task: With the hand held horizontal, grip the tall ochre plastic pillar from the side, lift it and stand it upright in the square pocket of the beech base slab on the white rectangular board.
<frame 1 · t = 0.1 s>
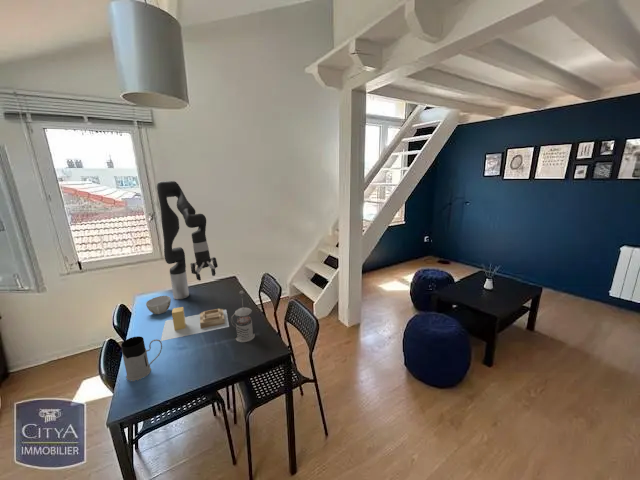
hand: (206, 277, 156), 22 cm above the table, tool pointing down, fingers open, 8 cm apart
teacup: (160, 313, 161), on the table
ochre pillar: (180, 326, 146), point 1 cm above the table, touching white rectangular board
white rectangular board: (196, 325, 149), on the table
beech base slab: (212, 320, 152), resting on white rectangular board
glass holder: (146, 371, 115), on the table
french press: (243, 336, 140), on the table
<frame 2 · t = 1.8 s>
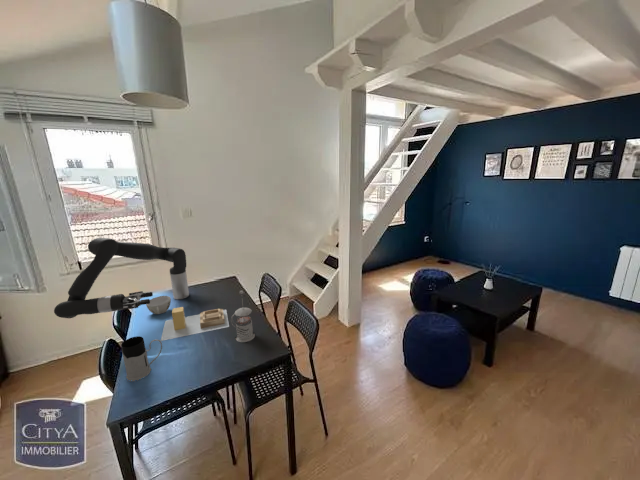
hand: (151, 297, 137), 20 cm above the table, tool horizontal, fingers open, 8 cm apart
nothing on the table moved.
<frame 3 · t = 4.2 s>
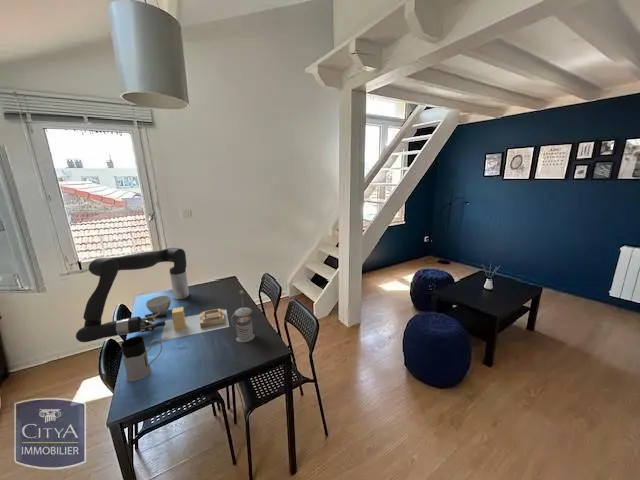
hand: (166, 319, 142), 7 cm above the table, tool horizontal, fingers open, 8 cm apart
nothing on the table moved.
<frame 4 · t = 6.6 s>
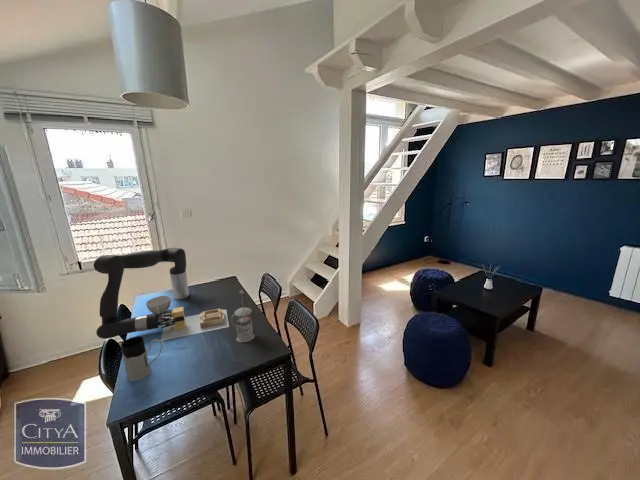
hand: (184, 315, 145), 7 cm above the table, tool horizontal, fingers closed on ochre pillar, 5 cm apart
ochre pillar: (180, 326, 146), point 1 cm above the table, touching white rectangular board, gripper
everything else where it was.
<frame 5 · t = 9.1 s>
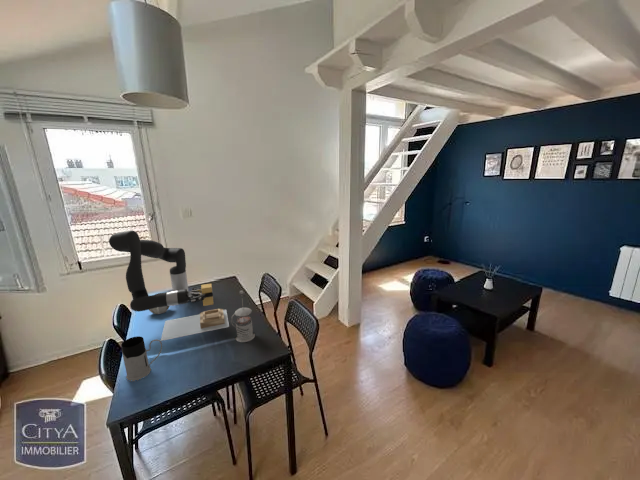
hand: (212, 292, 148), 18 cm above the table, tool horizontal, fingers closed on ochre pillar, 5 cm apart
ochre pillar: (208, 303, 149), point 12 cm above the table, touching gripper
everything else where it was.
when the fingers open (11 cm above the table, at t = 11.6 s): ochre pillar drops 1 cm, resting on beech base slab.
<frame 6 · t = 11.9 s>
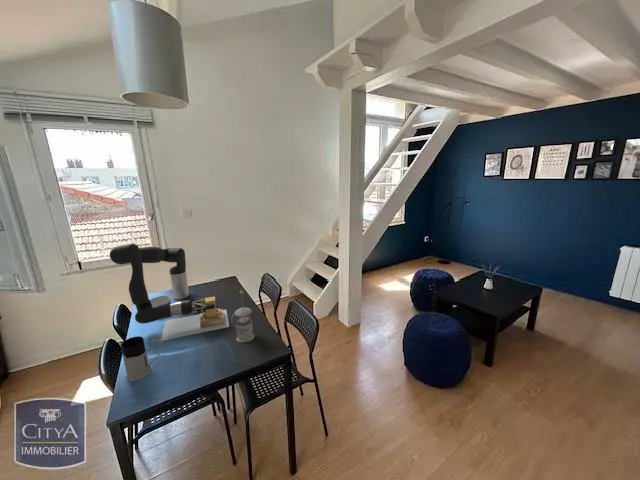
hand: (214, 302, 150), 11 cm above the table, tool horizontal, fingers open, 8 cm apart
ochre pillar: (211, 315, 151), point 4 cm above the table, touching beech base slab
everything else where it was.
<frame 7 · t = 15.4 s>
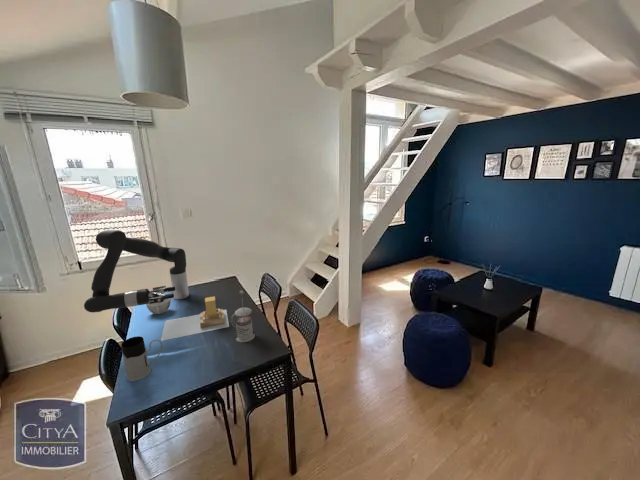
hand: (174, 291, 141), 21 cm above the table, tool horizontal, fingers open, 8 cm apart
nothing on the table moved.
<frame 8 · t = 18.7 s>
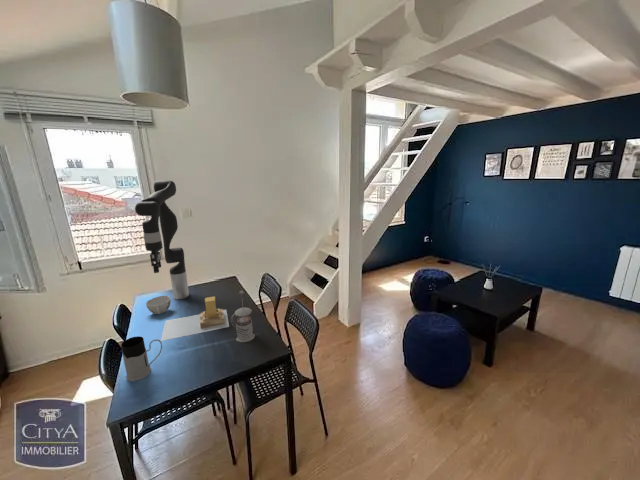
hand: (157, 269, 146), 30 cm above the table, tool pointing down, fingers open, 8 cm apart
nothing on the table moved.
at the end: ochre pillar 0.0 cm off-centre on the beech base slab, point 3.0 cm above the beech base slab's base; ochre pillar tilted 0°; the gripper is holding nothing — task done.
